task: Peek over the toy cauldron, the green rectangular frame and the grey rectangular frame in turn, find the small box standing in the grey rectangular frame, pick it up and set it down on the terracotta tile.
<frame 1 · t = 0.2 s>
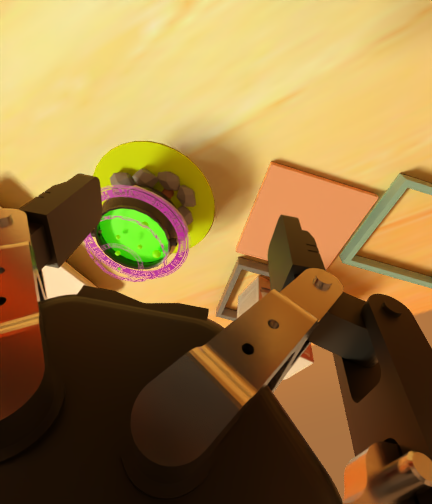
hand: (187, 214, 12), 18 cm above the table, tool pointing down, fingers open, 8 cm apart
green rectangular frame: (418, 234, 32), on the table
terracotta tile: (299, 223, 33), on the table
toy cauldron: (154, 203, 33), on the table
small box: (269, 295, 41), resting in grey rectangular frame
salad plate: (23, 265, 43), on the table
grey rectangular frame: (269, 296, 41), on the table
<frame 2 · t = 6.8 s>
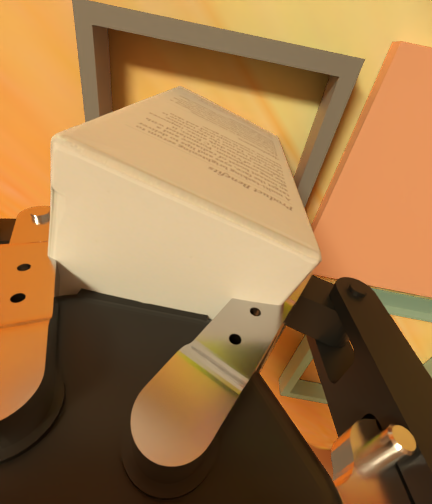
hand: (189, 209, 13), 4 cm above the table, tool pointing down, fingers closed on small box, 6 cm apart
green rectangular frame: (368, 351, 23), on the table
small box: (202, 178, 16), resting in grey rectangular frame, touching gripper
grey rectangular frame: (201, 179, 16), on the table
when the fingers open (6 cm above the table, at t = 11.8 s): small box drops 1 cm, resting on terracotta tile.
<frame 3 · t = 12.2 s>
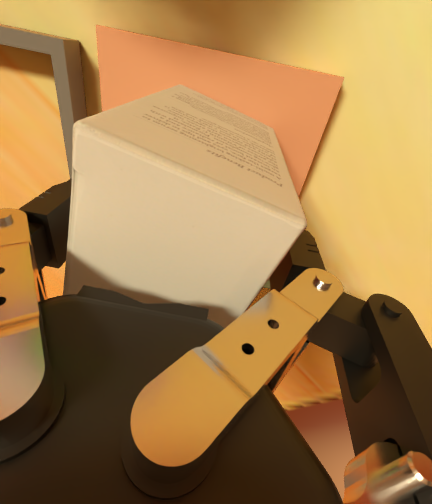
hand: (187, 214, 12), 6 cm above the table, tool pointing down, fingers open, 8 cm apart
terracotta tile: (205, 168, 17), on the table
small box: (203, 171, 17), point 1 cm above the table, touching terracotta tile
grey rectangular frame: (5, 151, 18), on the table
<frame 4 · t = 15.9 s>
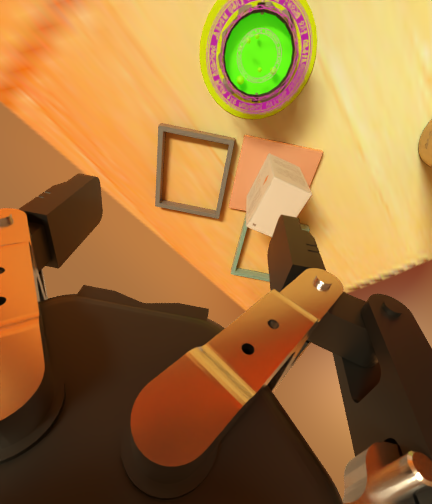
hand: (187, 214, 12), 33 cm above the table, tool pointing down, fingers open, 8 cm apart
green rectangular frame: (266, 249, 53), on the table
terracotta tile: (271, 180, 45), on the table
toy cauldron: (256, 56, 36), on the table
small box: (272, 181, 44), point 1 cm above the table, touching terracotta tile
grey rectangular frame: (193, 173, 45), on the table
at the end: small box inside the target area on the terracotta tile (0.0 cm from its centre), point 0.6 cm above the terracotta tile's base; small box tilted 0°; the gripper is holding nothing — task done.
